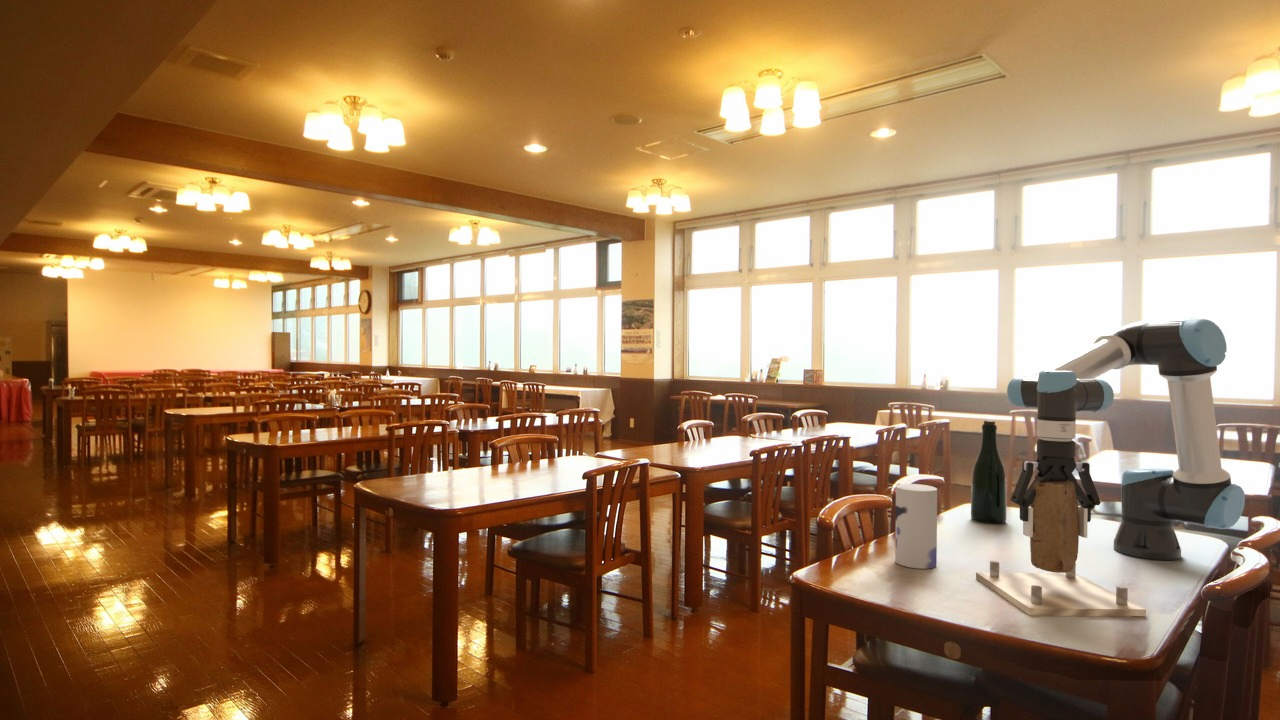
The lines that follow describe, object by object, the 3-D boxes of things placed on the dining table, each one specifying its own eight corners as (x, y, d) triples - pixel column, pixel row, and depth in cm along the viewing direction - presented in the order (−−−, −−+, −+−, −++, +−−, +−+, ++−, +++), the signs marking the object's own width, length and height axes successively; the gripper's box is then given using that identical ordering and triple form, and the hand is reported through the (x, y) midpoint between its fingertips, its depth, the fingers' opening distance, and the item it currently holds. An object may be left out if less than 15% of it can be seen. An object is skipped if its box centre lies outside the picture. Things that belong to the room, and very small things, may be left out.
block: (1062, 576, 151) (1063, 484, 151) (1026, 568, 157) (1027, 479, 157) (1083, 567, 158) (1084, 479, 158) (1047, 559, 164) (1048, 474, 164)
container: (888, 558, 186) (889, 483, 186) (924, 557, 187) (925, 483, 187) (906, 569, 176) (906, 490, 176) (944, 569, 177) (944, 490, 177)
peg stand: (1075, 579, 169) (1075, 558, 169) (1145, 616, 145) (1146, 592, 145) (975, 578, 170) (976, 558, 170) (1029, 615, 146) (1030, 591, 146)
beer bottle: (1000, 518, 234) (1001, 419, 233) (1011, 525, 223) (1012, 422, 223) (967, 516, 235) (967, 418, 235) (975, 524, 225) (976, 421, 225)
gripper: (1011, 440, 154) (1010, 539, 154) (1120, 441, 153) (1119, 540, 154) (994, 436, 161) (993, 531, 161) (1098, 437, 161) (1097, 532, 161)
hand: (1054, 535), depth 157 cm, fingers closed on block, 11 cm apart
